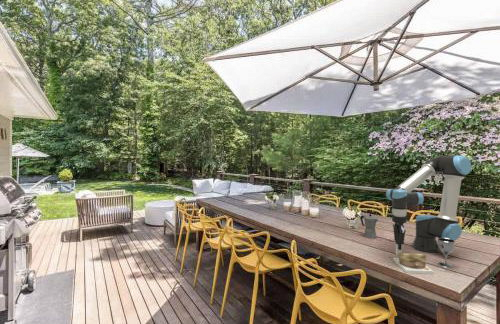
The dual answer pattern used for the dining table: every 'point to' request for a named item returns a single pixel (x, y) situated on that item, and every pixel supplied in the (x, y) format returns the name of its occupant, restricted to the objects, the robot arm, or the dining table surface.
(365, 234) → the coffeepot
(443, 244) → the wine glass
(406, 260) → the capstan dial
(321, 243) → the dining table surface
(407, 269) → the base plate
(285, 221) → the dining table surface
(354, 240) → the dining table surface
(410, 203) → the robot arm
